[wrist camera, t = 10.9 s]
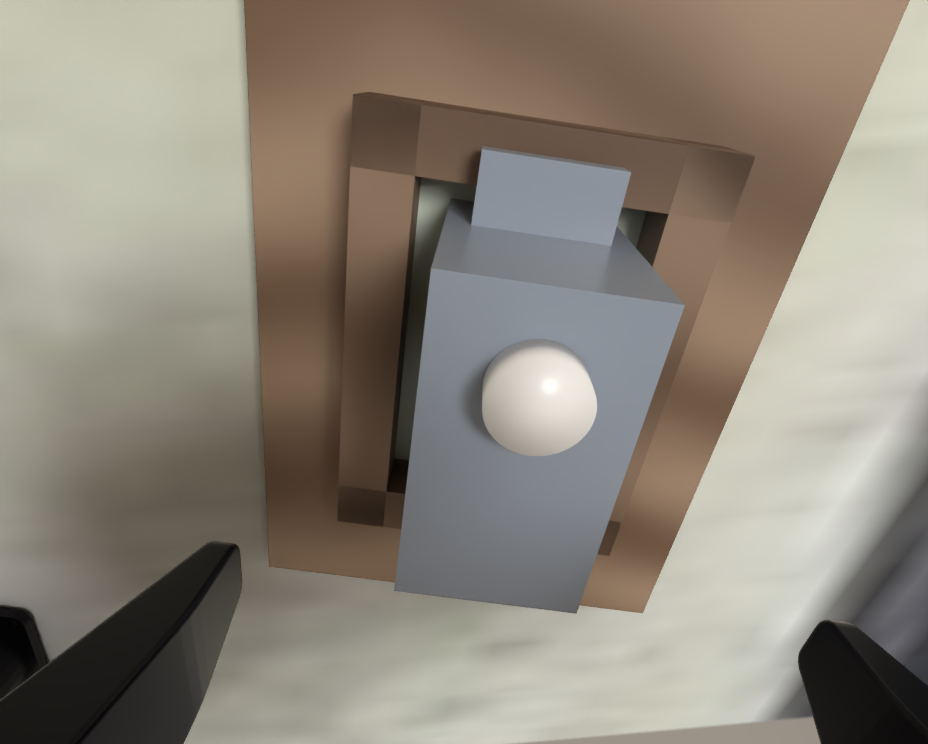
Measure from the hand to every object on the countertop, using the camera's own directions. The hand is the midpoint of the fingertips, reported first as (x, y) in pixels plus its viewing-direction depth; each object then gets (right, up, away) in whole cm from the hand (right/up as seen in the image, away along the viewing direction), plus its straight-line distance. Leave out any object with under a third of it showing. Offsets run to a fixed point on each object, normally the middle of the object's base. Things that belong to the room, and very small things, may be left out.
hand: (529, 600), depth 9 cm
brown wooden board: (0, +5, +9) cm, 10 cm away
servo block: (0, +4, +8) cm, 9 cm away
